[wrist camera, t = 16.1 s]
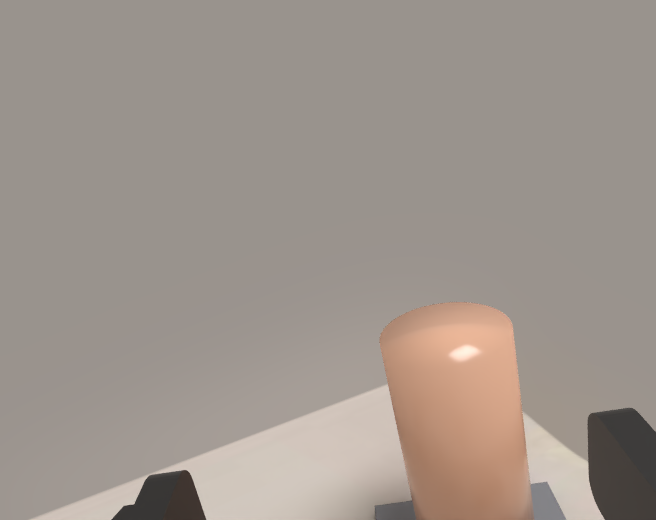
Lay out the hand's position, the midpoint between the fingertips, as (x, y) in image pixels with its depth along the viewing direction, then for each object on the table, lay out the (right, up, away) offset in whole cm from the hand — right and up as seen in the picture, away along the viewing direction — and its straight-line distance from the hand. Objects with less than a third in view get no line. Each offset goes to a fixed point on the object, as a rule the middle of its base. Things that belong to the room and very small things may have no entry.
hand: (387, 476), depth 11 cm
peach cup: (+8, -13, +22) cm, 27 cm away
